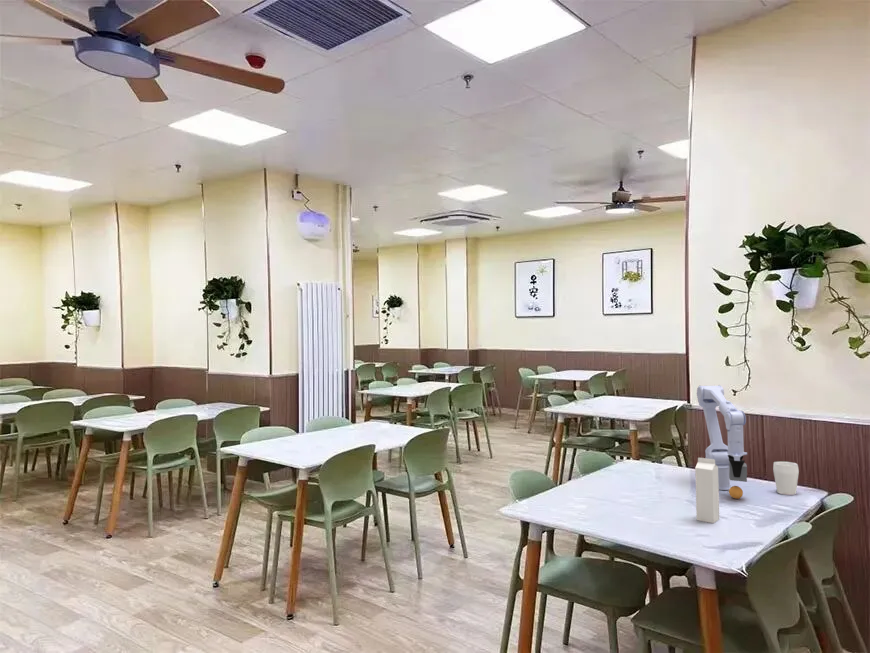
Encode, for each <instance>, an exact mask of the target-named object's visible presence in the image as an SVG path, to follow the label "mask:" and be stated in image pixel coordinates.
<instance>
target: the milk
mask: <svg viewBox="0 0 870 653" xmlns="http://www.w3.org/2000/svg"><path fill="white" fill-rule="evenodd" d="M694 471H695V472H694V473H695V474H694V475H695V477H694V478H695V504H696V505H695V506H696V507H695V508H696V509H695V510H696V511H695V512H696V513H695V514H696V520H697V521H699V522H704V523H709V524H715V523H716V522H718V521H719V520H720V494H719V493H720V490H719V483H718V466H717V465H716V464H715V460H714V459H707V458H706V457H705V458H704V457H697V463H696V466H695V468H694Z"/></svg>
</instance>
